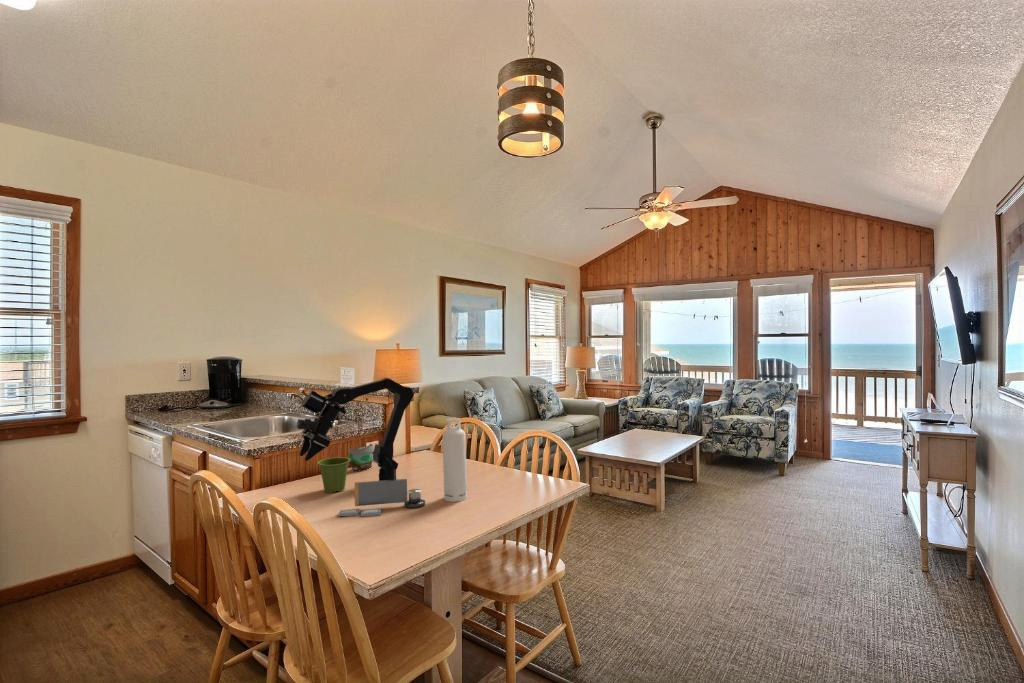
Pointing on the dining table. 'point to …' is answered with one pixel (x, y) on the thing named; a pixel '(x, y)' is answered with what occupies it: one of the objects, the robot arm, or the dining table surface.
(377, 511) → the label plaque
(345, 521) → the dining table surface
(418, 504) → the pivot base
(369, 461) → the food container
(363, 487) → the swing bar
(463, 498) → the bottle
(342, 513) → the label plaque
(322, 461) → the plant pot
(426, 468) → the dining table surface
